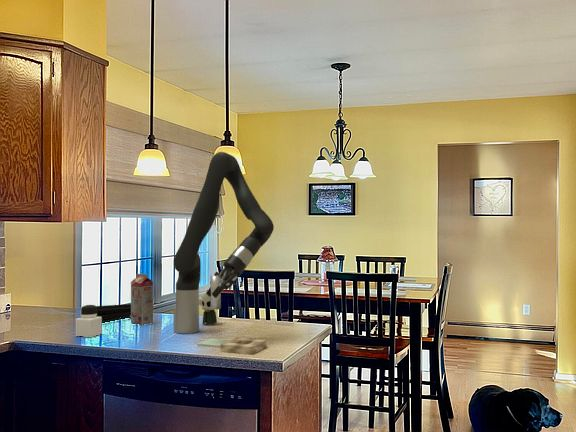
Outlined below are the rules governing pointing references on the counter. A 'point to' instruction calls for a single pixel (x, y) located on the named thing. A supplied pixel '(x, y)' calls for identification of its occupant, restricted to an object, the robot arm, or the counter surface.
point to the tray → (114, 312)
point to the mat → (212, 342)
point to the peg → (214, 284)
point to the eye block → (243, 346)
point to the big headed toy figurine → (207, 310)
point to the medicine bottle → (88, 322)
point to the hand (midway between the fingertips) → (210, 295)
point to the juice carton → (141, 300)
